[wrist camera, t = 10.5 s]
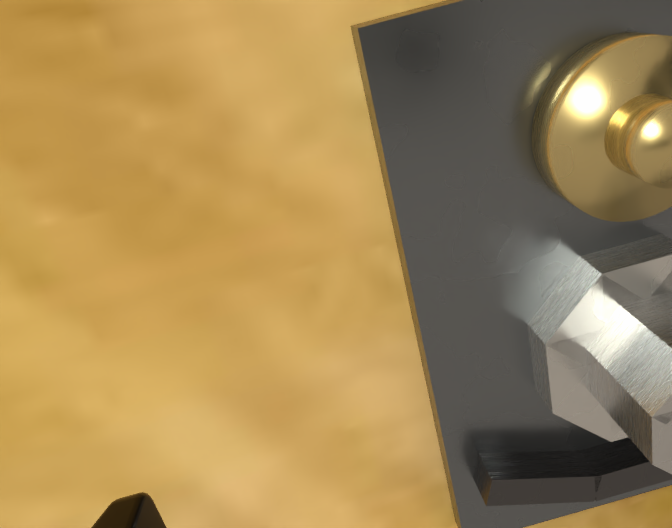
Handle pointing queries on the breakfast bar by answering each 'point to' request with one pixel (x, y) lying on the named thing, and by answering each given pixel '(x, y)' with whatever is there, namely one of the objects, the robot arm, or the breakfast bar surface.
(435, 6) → the carrier
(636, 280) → the octagonal pipe fitting
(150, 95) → the breakfast bar surface
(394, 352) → the breakfast bar surface
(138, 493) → the robot arm
